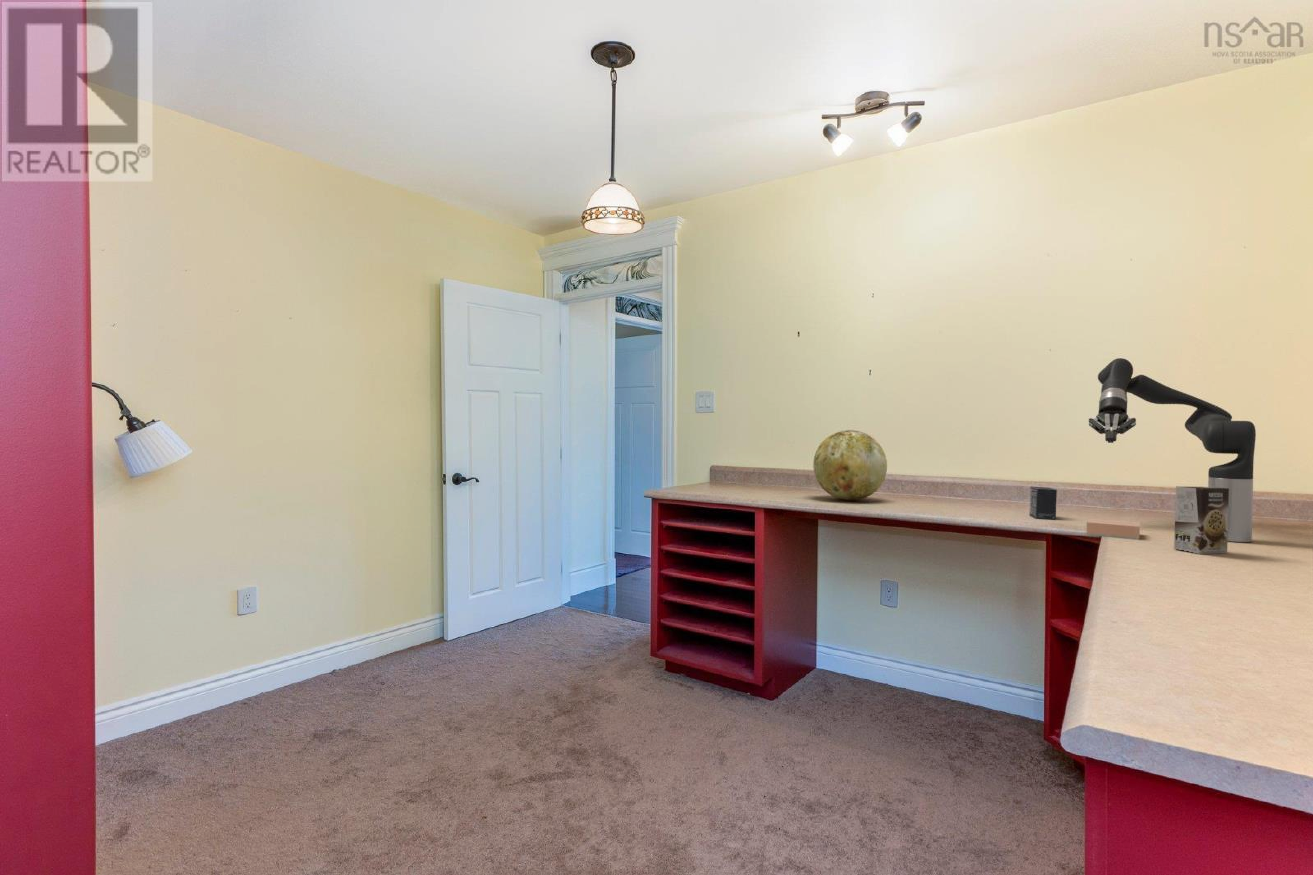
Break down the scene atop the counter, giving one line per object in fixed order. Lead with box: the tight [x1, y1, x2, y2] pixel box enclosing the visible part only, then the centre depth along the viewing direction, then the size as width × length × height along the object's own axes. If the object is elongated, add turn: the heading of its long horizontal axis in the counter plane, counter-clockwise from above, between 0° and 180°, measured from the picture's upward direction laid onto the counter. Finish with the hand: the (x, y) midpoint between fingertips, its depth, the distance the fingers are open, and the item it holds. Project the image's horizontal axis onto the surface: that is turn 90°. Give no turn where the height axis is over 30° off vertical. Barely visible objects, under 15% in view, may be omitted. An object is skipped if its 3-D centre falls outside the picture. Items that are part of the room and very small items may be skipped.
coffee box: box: [1173, 486, 1229, 555], centre depth 155 cm, size 9×6×16 cm
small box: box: [1028, 486, 1058, 520], centre depth 218 cm, size 11×6×10 cm, turn 160°
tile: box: [1086, 518, 1141, 540], centre depth 181 cm, size 4×12×12 cm
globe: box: [812, 429, 888, 502], centre depth 266 cm, size 30×30×30 cm
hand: (1110, 440), depth 197 cm, fingers closed
